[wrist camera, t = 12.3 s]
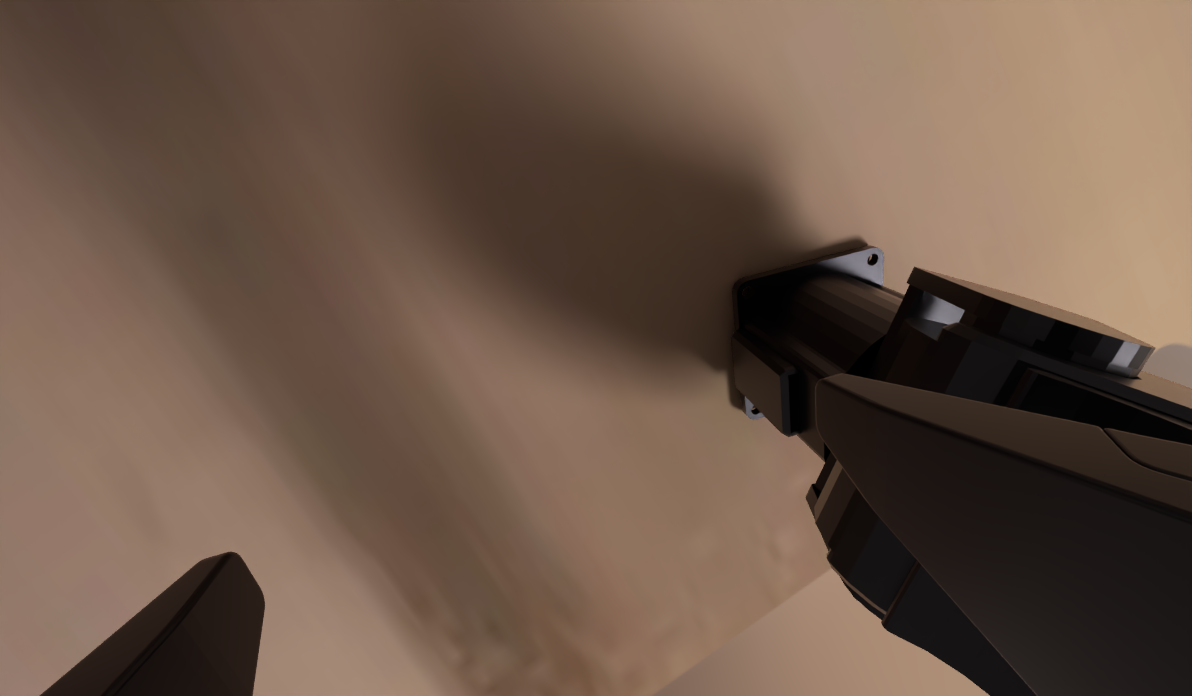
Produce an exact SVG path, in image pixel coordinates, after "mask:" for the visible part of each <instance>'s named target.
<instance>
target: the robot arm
mask: <svg viewBox="0 0 1192 696" xmlns="http://www.w3.org/2000/svg"><path fill="white" fill-rule="evenodd" d="M870 255H872V258H871V260H870V261H869V262H868V263H867V260H868V257H869V256H870ZM883 265H884V255H883V252H882V250H881V249H879V248H877V247H874V246H864V247H860V248H856V249H852V250H849V251H845V252H841V253H837V254H833V255H829V256H825V257H822V258H818V259H814V260H810V261H806V262H802V263H799V264H795V265H791V266H787V267H783V268H779V269H775V270H772V271H768V272H764V273H760V274H756V275H752V276H748V277H745V278H742V279H740V280H738V281H737V282H736V283H735V285H734V287H733V291H732V295H733V307H734V319H735V331H734V332H733V334H732V336H731V342H732V353H733V364H734V376H735V386H736V388H737V389H738V390H739V391H740V392H741V403H742V410H743V412H744V413H745V414H746V415H747V416H748V417H749V418H750V419H759V418H762V417H766V418H767V419H768V420H769V421H770V422H771V423H772V424H773V425H774V426H775V427H776V428H777V429H778V430H779V431H780V432H781V433H782V434H784V435H786V436H788V437H791V436H794V435H797V436H798V437H799V438H800V439H801V440H802V441H804V442H805V443H806V444H807V445H808V446H809V447H810V448H811V449H812V450H813V451H814V452H815V453H816V454H817V455H818V456H819V457H820V458H821V459H822V460H823V461H824V462H825V465H824V467H823V469H822V471H821V473H820V475H819V477H818V479H817V481H816V484H812V485H811V487H810V489H809V491H808V493H807V495H806V500H807V502H808V504H809V507H810V509H811V511H812V514H813V516H814V518H815V523H816V525H817V527H818V529H819V531H820V532H821V535H822V537H823V539H824V542H825V544H826V546H827V549H828V551H829V552H828V554H827V560H828V561H829V563H830V565H831V567H832V569H833V570H834V571H835V572H836V573H837V574H838V575H839V576H840V578H841V579H842V581H843V583H844V584H845V586H846V587H847V588H848V590H849V591H850V592H851V594H852V595H853V597H854V598H855V599H856V600H858V601H859V602H860V603H862V604H863V605H864V606H865V607H866V608H867V609H868V610H869V611H871V612H872V613H873V614H875V615H876V616H877V617H879V618H880V619H881V620H882V622H881V623H882V625H883V627H884V628H885V629H886V630H887V631H889V632H890V633H893V634H895V635H897V636H898V637H900V638H902V639H904V640H906V641H908V642H910V643H912V644H914V645H916V646H918V647H920V648H922V649H924V650H926V651H928V652H929V653H931V654H932V655H934V656H935V657H937V658H938V659H940V660H942V661H943V662H945V663H946V664H948V665H950V666H951V667H952V668H954V669H955V670H957V671H959V672H960V673H962V674H963V675H965V676H966V677H967V678H968V679H970V680H971V681H972V682H973V683H975V684H976V685H977V686H979V687H980V688H981V689H982V690H984V691H985V692H986V693H988V694H989V695H990V696H1192V389H1191V388H1188V387H1185V386H1183V385H1180V384H1177V383H1174V382H1171V381H1169V380H1166V379H1163V378H1160V377H1158V376H1155V375H1152V374H1149V373H1146V372H1144V371H1141V370H1142V368H1143V367H1144V365H1145V364H1146V362H1147V361H1148V359H1149V357H1150V356H1151V354H1152V353H1153V351H1154V350H1155V347H1153V346H1151V345H1149V344H1147V343H1145V342H1142V341H1140V340H1138V339H1136V338H1134V337H1131V336H1129V335H1127V334H1125V333H1122V332H1120V331H1118V330H1116V329H1114V328H1111V327H1109V326H1107V325H1105V324H1103V323H1100V322H1098V321H1096V320H1093V319H1090V318H1087V317H1084V316H1080V315H1077V314H1074V313H1071V312H1068V311H1065V310H1062V309H1059V308H1056V307H1053V306H1049V305H1046V304H1043V303H1040V302H1037V301H1034V300H1031V299H1028V298H1025V297H1021V296H1018V295H1015V294H1011V293H1007V292H1004V291H1000V290H997V289H993V288H989V287H986V286H982V285H979V284H975V283H971V282H968V281H964V280H961V279H957V278H953V277H950V276H946V275H943V274H939V273H935V272H932V271H928V270H925V269H921V268H917V267H914V268H913V270H912V273H911V275H910V277H909V279H908V281H907V283H908V284H910V285H909V287H908V289H907V292H906V294H905V295H903V294H901V293H899V292H896V291H894V290H891V289H889V288H887V287H884V286H883ZM748 286H749V287H750V290H749V292H748V294H746V295H744V296H743V290H744V289H745V288H746V287H748ZM753 406H755V407H756V408H755V409H754V410H752V407H753ZM264 610H265V601H264V596H263V593H262V590H261V588H260V587H259V585H258V584H257V582H256V580H255V579H254V577H253V575H252V574H251V572H250V571H249V569H248V567H247V566H246V564H245V562H244V561H243V559H242V558H241V557H240V555H238V554H237V553H235V552H227V553H223V554H220V555H216V556H213V557H209V558H206V559H203V560H201V561H200V562H198V563H197V564H196V565H195V566H193V567H192V568H191V569H190V570H189V571H187V572H186V573H185V574H184V575H183V576H181V577H180V578H179V579H178V580H177V581H175V582H174V583H173V584H172V585H171V586H170V587H168V588H167V589H166V590H165V591H164V592H162V593H161V594H160V595H159V596H158V597H156V598H155V599H154V600H153V601H152V602H151V603H149V604H148V605H147V606H146V607H145V608H143V609H142V610H141V611H140V612H139V613H137V614H136V615H135V616H134V617H133V618H131V619H130V620H129V621H128V622H127V623H126V624H124V625H123V626H122V627H121V628H120V629H118V630H117V631H116V632H115V633H114V634H112V635H111V636H110V637H109V638H108V639H107V640H105V641H104V642H103V643H102V644H101V645H99V646H98V647H97V648H96V649H95V650H93V651H92V652H91V653H90V654H89V655H87V656H86V657H85V658H84V659H83V660H82V661H80V662H79V663H78V664H77V665H76V666H74V667H73V668H72V669H71V670H70V671H68V672H67V673H66V674H65V675H64V676H63V677H61V678H60V679H59V680H58V681H57V682H55V683H54V684H53V685H52V686H51V687H49V688H48V689H47V690H46V691H45V692H43V693H42V694H41V695H40V696H253V689H254V681H255V674H256V667H257V660H258V653H259V646H260V639H261V632H262V624H263V617H264Z"/></svg>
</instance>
